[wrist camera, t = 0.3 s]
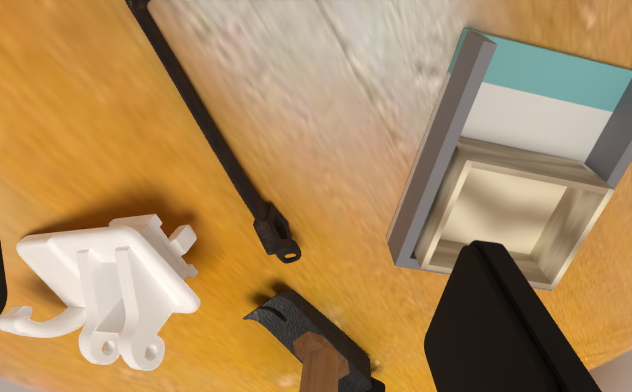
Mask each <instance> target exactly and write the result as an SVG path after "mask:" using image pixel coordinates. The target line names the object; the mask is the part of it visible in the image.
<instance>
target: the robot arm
mask: <svg viewBox="0 0 632 392" xmlns="http://www.w3.org/2000/svg"><path fill="white" fill-rule="evenodd" d="M6 301H7V285H6V278H5V271H4V264H3V256H2V249H1V242H0V314H1V313H2V311H3V309H4V307H5V305H6ZM424 351H425V355H426V358H427V361H428V364H429V367H430V370H431V373H432V377H433V380H434V383H435V386H436V389H437V392H602V391H601V390H600V389H599V387H598V385H597V384H596V382H595V381H594V379H593V378H592V377H591V375H590V373H589V372H588V370H587V369H586V368H585V366H584V365H583V363H582V362H581V360H580V359H579V357H578V356H577V354H576V353H575V351H574V350H573V348H572V347H571V345H570V344H569V342H568V341H567V339H566V338H565V336H564V335H563V333H562V332H561V330H560V329H559V327H558V326H557V324H556V323H555V321H554V320H553V318H552V317H551V315H550V314H549V312H548V311H547V309H546V308H545V306H544V305H543V303H542V302H541V300H540V299H539V297H538V296H537V294H536V293H535V291H534V290H533V288H532V287H531V285H530V284H529V282H528V281H527V279H526V278H525V276H524V275H523V273H522V272H521V270H520V269H519V267H518V266H517V264H516V263H515V261H514V260H513V258H512V257H511V255H510V254H509V252H508V251H507V249H506V248H505V246H504V245H503V244H501V243H495V242H488V241H481V240H474V241H472V242H471V243H470V245H469V246H468V245H465V246H463V247H462V249H461V251H460V253H459V255H458V258H457V260H456V262H455V265H454V267H453V270H452V272H451V275H450V277H449V280H448V282H447V284H446V287H445V289H444V292H443V294H442V297H441V299H440V301H439V304H438V306H437V309H436V311H435V314H434V316H433V319H432V321H431V323H430V326H429V328H428V331H427V333H426V336H425V340H424Z"/></svg>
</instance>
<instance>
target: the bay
mask: <svg viewBox="0 0 632 392" xmlns="http://www.w3.org/2000/svg"><path fill="white" fill-rule="evenodd" d="M459 137H465V138H470V139H475V140H479V141H484V142H489V143H494V144H499V145H503V146H508V147H513V148H518V149H522V150H527V151H532V152H537V153H541V154H546V155H551V156H556V157H561V158H565V159H570V160H575V161H580V162H583V163H584V164H585V165H586V166H588V167H589V168H590V169H591V170H592V171H593V172H595V173H596V174H597V175H598V176H599V177H601V178H602V179H603V180H604V181H605V182H606V183H608V184H609V185H610V186H611V187H612V188H614V189H615V188H616V186H617V184H618V183H619V181H620V179H621V178H622V176H623V175H624V173H625V171H626V170H627V168H628V166H629V165H630V163H631V161H632V70H631V69H627V68H623V67H619V66H615V65H611V64H607V63H603V62H599V61H595V60H591V59H587V58H583V57H579V56H575V55H571V54H567V53H563V52H559V51H555V50H551V49H547V48H543V47H539V46H535V45H531V44H527V43H523V42H519V41H515V40H511V39H507V38H503V37H499V36H495V35H491V34H487V33H483V32H479V31H475V30H470V29H466V28H464V29H463V32H462V35H461V38H460V40H459V43H458V46H457V48H456V51H455V54H454V56H453V59H452V62H451V64H450V67H449V70H448V73H447V75H446V78H445V81H444V83H443V86H442V89H441V91H440V94H439V97H438V99H437V102H436V105H435V107H434V110H433V113H432V116H431V118H430V121H429V124H428V126H427V129H426V132H425V134H424V137H423V140H422V142H421V145H420V148H419V151H418V153H417V156H416V159H415V161H414V164H413V167H412V169H411V172H410V175H409V177H408V180H407V183H406V185H405V188H404V191H403V194H402V196H401V199H400V202H399V204H398V207H397V210H396V212H395V215H394V218H393V220H392V223H391V226H390V229H389V231H388V234H387V237H386V239H387V242H388V246H389V249H390V252H391V255H392V259H393V262H394V265H395V266H398V267H405V268H411V269H417V270H423V271H430V272H436V273H442V274H449V275H451V273H445V272H439V271H432V270H426V269H420V266H419V264H418V261H417V258H416V256H415V253H414V251H413V249H414V247H415V244H416V242H417V239H418V237H419V235H420V232H421V230H422V227H423V225H424V222H425V220H426V217H427V215H428V213H429V210H430V208H431V205H432V203H433V200H434V198H435V196H436V193H437V191H438V188H439V186H440V183H441V181H442V178H443V176H444V174H445V171H446V169H447V166H448V164H449V161H450V159H451V157H452V154H453V152H454V149H455V147H456V144H457V142H458V139H459ZM531 287H532V286H531ZM532 288H536V289H543V290H549V291H553V290H551V289H545V288H539V287H532Z"/></svg>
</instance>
